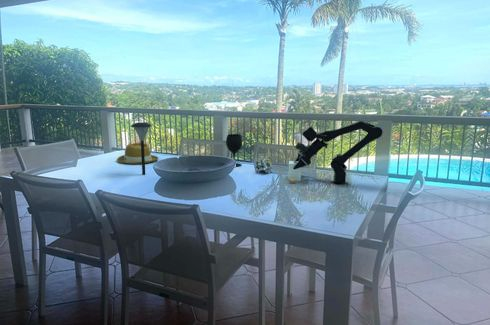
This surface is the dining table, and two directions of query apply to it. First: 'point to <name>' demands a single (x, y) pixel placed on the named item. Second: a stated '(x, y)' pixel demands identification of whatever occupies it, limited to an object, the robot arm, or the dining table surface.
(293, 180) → the bowl
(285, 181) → the placemat
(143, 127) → the solar garden light
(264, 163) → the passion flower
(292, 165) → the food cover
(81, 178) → the dining table surface
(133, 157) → the fedora
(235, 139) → the wine glass
